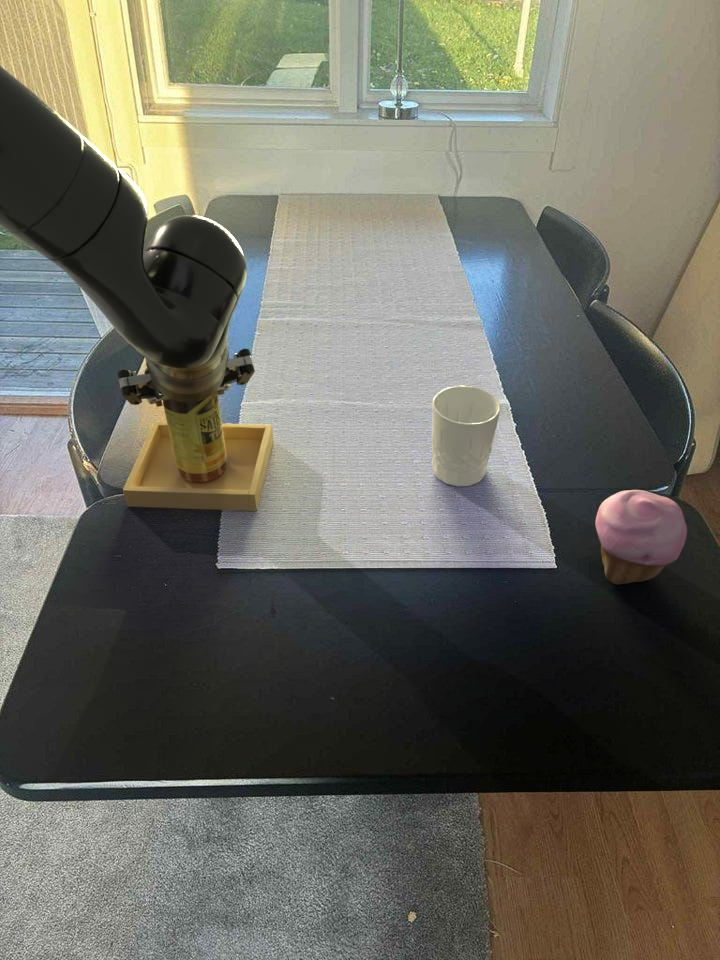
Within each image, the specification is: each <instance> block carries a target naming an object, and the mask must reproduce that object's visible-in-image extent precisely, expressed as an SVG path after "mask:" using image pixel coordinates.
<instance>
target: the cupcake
mask: <svg viewBox="0 0 720 960" xmlns="http://www.w3.org/2000/svg"><path fill="white" fill-rule="evenodd" d="M687 527H688V526H687V523H686V519H685V516H684V513H683V510H682V509H681V507H680V505H679V504H678V503H677V502H676V501H674V500H672V499H671V498H670V497H668V496H667V497H666V496H664V495H663V496H662V495H659V494H657V493H653V492H650V491H647V490H641V489H631V490H628V489H627V490H621V491H619V492H616V493H614V494H612V495H610V496H609V497H607V498H606V499H604V501H602V502H601V504H600V505H599V507H598V510H597V513H596V517H595V530H596V532H597V533H596V534H597V536H598V539H599V543H600V554H601V561H602V565H603V568H604V575H605V578H606V580H607V581H608V582H610V583H611V584H613V585H625V584H631V583H636V582H637V583H642V582H646V581H648V580H651V579H653V578H655V577H656V576H658V575H659V574H660V573H661V572H662V570H663V569H664V568H665V567H666V566H667V565H669V564H672V563H674V562H675V561H677V560H678V558H679V556H681V553H682V550H683V548H684V546H685V543H686V539H687V536H688V535H687V534H688V528H687Z"/></svg>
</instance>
